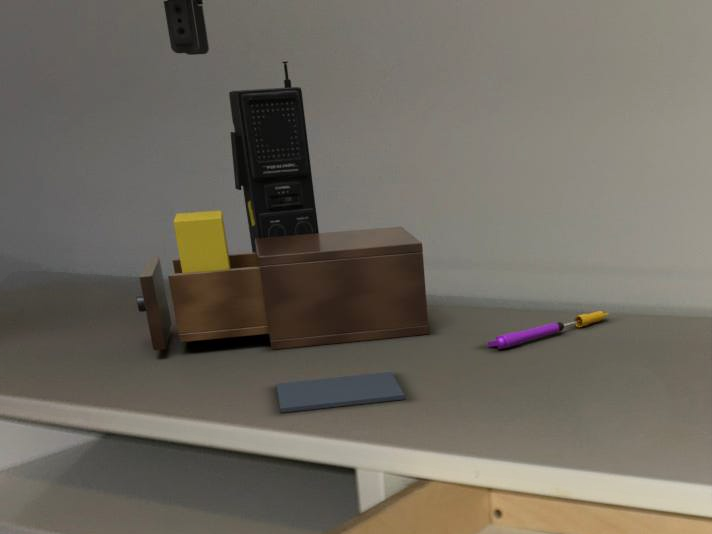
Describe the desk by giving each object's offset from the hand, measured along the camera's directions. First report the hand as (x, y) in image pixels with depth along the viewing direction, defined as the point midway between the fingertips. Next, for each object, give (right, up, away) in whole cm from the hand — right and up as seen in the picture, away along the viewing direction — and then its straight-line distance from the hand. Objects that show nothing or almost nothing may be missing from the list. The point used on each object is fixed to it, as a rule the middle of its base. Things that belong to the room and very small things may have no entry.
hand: (191, 53), depth 92 cm
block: (-2, -18, +18) cm, 25 cm away
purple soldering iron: (+32, -20, +13) cm, 40 cm away
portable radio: (+3, -13, +30) cm, 33 cm away
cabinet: (+11, -18, +21) cm, 29 cm away
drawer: (-2, -19, +18) cm, 26 cm away
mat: (+13, -30, -2) cm, 33 cm away
